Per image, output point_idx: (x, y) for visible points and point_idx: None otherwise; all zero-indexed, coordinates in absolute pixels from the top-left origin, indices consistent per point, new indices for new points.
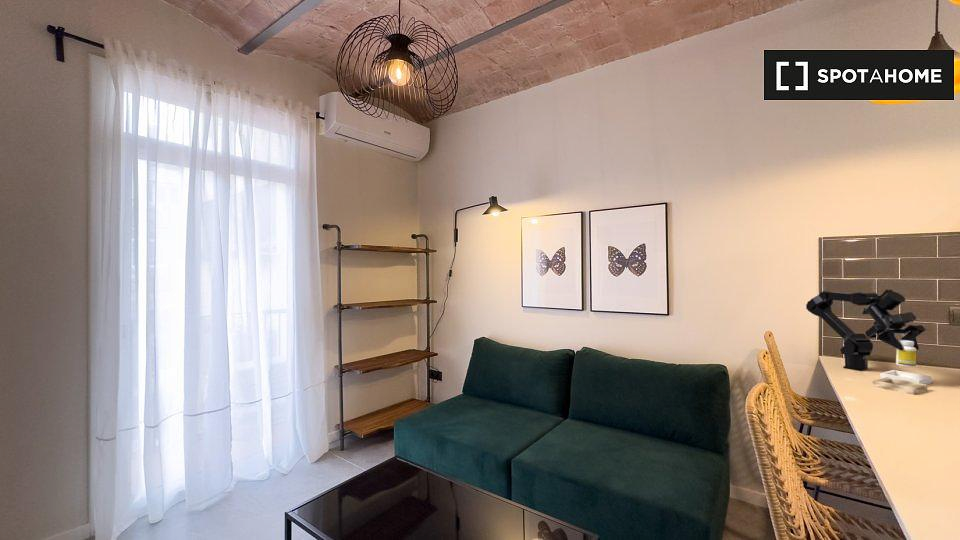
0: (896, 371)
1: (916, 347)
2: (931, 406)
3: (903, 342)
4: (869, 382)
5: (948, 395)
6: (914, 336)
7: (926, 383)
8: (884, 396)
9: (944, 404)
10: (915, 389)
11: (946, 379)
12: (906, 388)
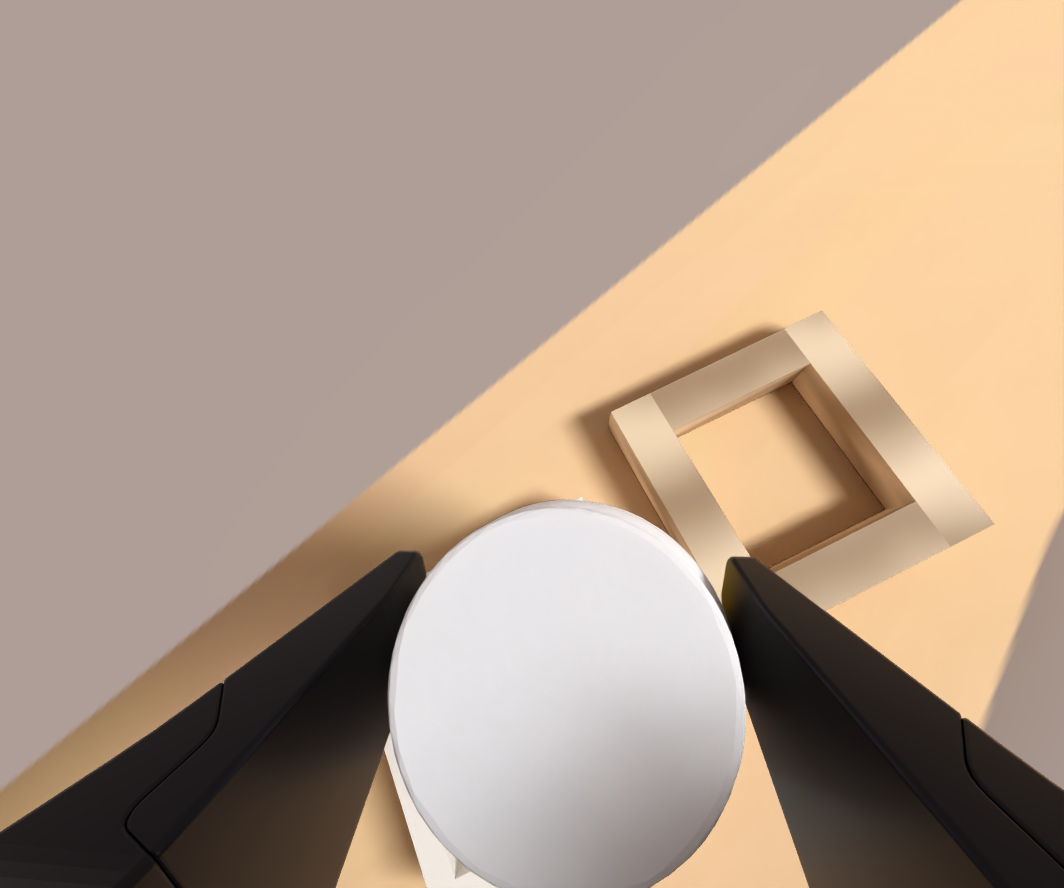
0: (455, 864)
1: (412, 579)
2: (886, 149)
3: (715, 619)
4: (898, 650)
5: (584, 325)
6: (32, 850)
7: None
8: (1045, 294)
9: (779, 181)
10: (790, 327)
11: (140, 708)
12: (843, 342)
